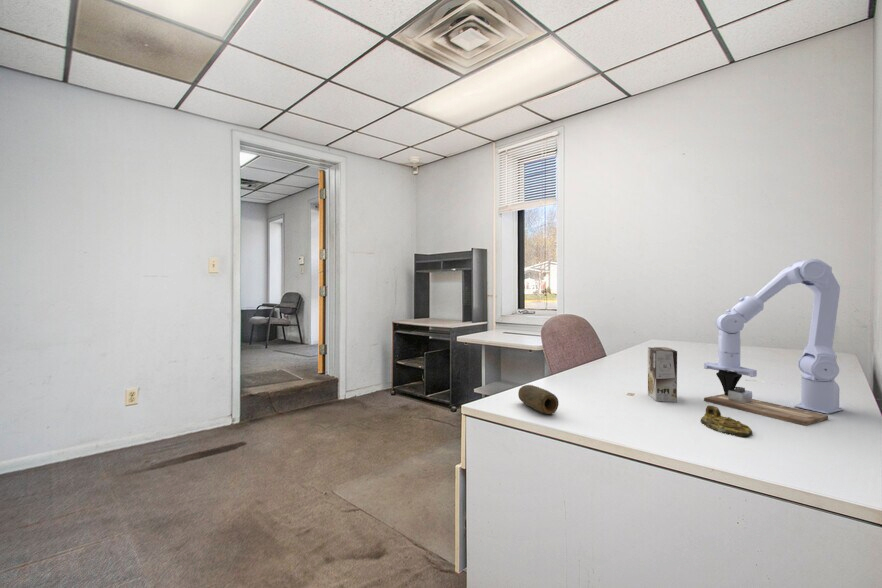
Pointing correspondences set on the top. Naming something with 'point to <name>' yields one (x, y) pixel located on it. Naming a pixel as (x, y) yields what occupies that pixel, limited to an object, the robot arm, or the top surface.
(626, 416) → the top surface
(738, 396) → the knob
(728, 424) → the seal
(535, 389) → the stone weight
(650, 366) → the coffee box
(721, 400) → the counting board
